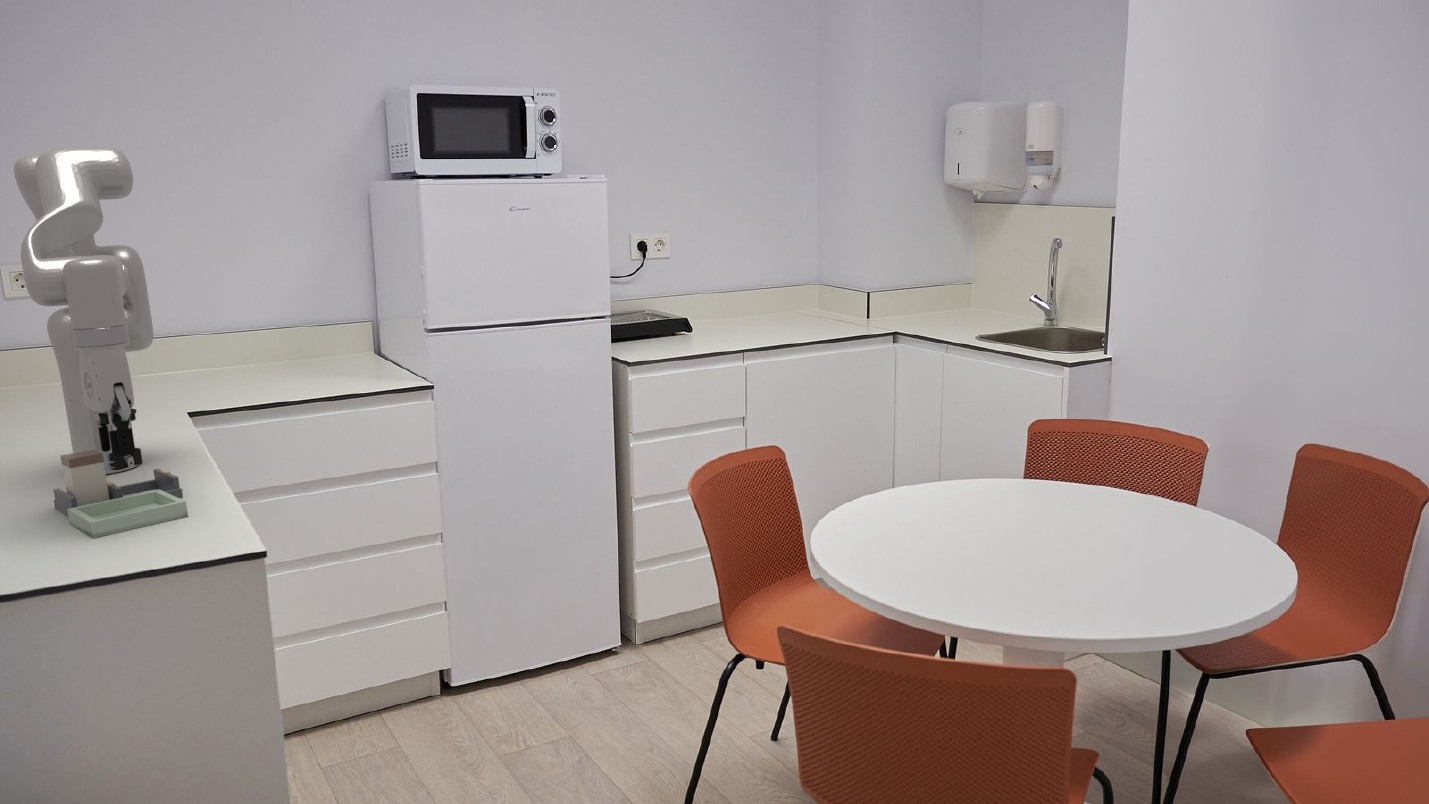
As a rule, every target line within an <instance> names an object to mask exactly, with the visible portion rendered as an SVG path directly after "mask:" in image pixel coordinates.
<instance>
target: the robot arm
mask: <svg viewBox="0 0 1429 804" xmlns="http://www.w3.org/2000/svg"><path fill="white" fill-rule="evenodd" d="M13 174H14V178H15V182H16V185H17V187H18V190H19V193H20V194H21V196H22V198H23V200H24V202H25V203H26V204H27V206H28V208H29V210H30V211H31V213H32V214H33V216H34V218H35V220H36V221H35V222H34V223H33V224H32V226H31V227H30V228H29V229H28V230H27V232H26V234H25V236H24V238H23V240H22V243H21V246H20V261H21V266H22V272H23V277H24V282H25V287H26V291H27V294H28V296H29V298H31V300H32V301H33V302H34V303H36V304H38V305H40V306H43V307H57V306H59V307H60V306H67V307H64V308H60V309H58V310H55V311H54V312H53V313H52V314H50V316H49V317H48V318H47V322H46V329H47V336H48V338H49V341H50V345H51V347H52V351H53V354H54V356H55V360H56V364H57V367H58V372H59V376H60V382H61V387H62V393H63V399H64V406H65V412H66V419H67V425H68V430H69V438H70V442H71V449H72V453H78V452H83V451H89V450H96V451H99V452H101V453H103V459H104V463H105V462H107V454H108V453H111V452H112V454H113V455H114V456H120V455H125V454H131V453H134V452H135V448H136V446H135V440H134V433H133V425H132V421H131V417H130V415H131V409H133V407H134V406H135V397H134V395H135V394H134V389H133V388H134V387H133V381H132V377H131V373H130V367H129V363H128V357H127V353H132V352H138V351H144V350H146V349H148V348H150V346H151V345H152V343H153V341H154V325H153V318H152V312H151V306H150V299H149V298H150V297H149V295H148V294H149V292H148V287H147V281H146V274H145V269H144V264H143V261H142V258H141V256H140V255H139V252H137V250H136V249H134V248H133V247H131V246H127V245H122V244H121V245H120V244H119V245H114V244H113V245H103V246H101V245H97V244H96V241H95V235H94V234H96V233H97V232H98V231H99V230H100V229H101V228H102V225H103V222H104V213H103V209H102V206H101V202H100V201H102V200H105V201H106V200H119V199H120V200H121V199H123V198H126V197H128V196H129V195H130V194H131V193H132V191H133V186H134V175H133V170H132V166H131V164H130V162H129V160H128V158H127V156H126V155H125V153H124V152H123V151H121V150H119V149H118V148H115V147H63V148H54V149H50V150H46V151H45V152H42V153H33V154H29V155H24V156H21V157H20V158H18V159H17V160H16V161H15V163H14V165H13ZM112 407H118V408H119V410H113V411H112V410H111V408H112ZM106 410H107V414H108V418H109V423H110V427H111V431H109V432H108V427H107V424H102V423H101V417H99V416H98V413H106ZM115 414H119V415H116V417H115V418H114V415H115ZM109 436H110V439H109ZM110 442H111V446H110ZM110 449H112V451H110ZM138 466H139V465H135V466H132V467H128V468H125V469H121V470H109V469H108V470H105V474H106V475H110V474H116V473H120V472H124V471H127V470H131V469H133V468H136V467H138ZM107 467H108V464H104V468H107Z"/></svg>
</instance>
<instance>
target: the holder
mask: <svg viewBox="0 0 1429 804" xmlns="http://www.w3.org/2000/svg"><path fill="white" fill-rule="evenodd" d="M153 476H154V477H153V479H149V480H144V481H139V482H134V483H130V484H124V485H120V486H118V485H115V482H112V481H110V480H108V481H107V487H108V493H109V499H110V500H112V499H117V498H122V497H124V496H127V495H133V494H135V493H137V494H138V493H140V492H141V493H142V492H147V491H149V490H150V491H152V490H155V489H156V490H159V489H160V490H162V491H164V492H166V493H168V494H171V495H173V496H175V497H177V498H180V499H182V498H184V494H183V489H182V488H181V487H180V482H179V481H180V480H179V476H178V475H174V474H172V473H171V471H168V470H167V469H164V470H163V469H160V468H154V469H153ZM52 490H53V495H54V499H53V504H54V509H55V510H56V511H59V512H60V513H62V514H63V515H66V516H67V517H69V516H68V510H67V509H70V508H74V507H78V506H77V500H76V498H75V497H74V496H72V495H70V494H68V493H67V491H64V490H63V489H61V488H54V489H52Z"/></svg>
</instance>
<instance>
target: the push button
mask: <svg viewBox="0 0 1429 804" xmlns="http://www.w3.org/2000/svg"><path fill="white" fill-rule="evenodd" d="M111 410H112V411H113V410H119V408H118V407H112V408H111ZM137 412H138V411H137V409H136V408H131V415H130V417H131V422H133V421H136V420H137V418H136V413H137ZM116 415H119V414H115V415H114V418H115V417H116ZM98 416H99V417H101V423H102V424H107V427H108V432H109V431H111V427H110V423H109V418H108V414H107V410H106V413H98ZM109 439H110V436H109ZM110 446H111V442H110ZM110 451H112V449H110ZM102 464H108V467H107V468H105V469H102V470H108V469H109V470H121V469H125V468H128V467H132V466H135V465H138V466H140V465H142V464H143V457H142V449H141V448H140V447H135V452H134V453H131V454H125V455H120V456H114V455H113V454H112V452H111V453H108V454H107V462H105V463H102Z"/></svg>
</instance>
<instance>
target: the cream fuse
mask: <svg viewBox="0 0 1429 804" xmlns="http://www.w3.org/2000/svg"><path fill="white" fill-rule="evenodd" d="M60 460H61V461H60V462H61V466H62V471H63V477H64V483H65V489H66V493H68V494H70V495H72V496H74V497H75V498H76V500H77V506H78V507H79V506H84V505H88V504H93V503H98V502H103V501H107V500H110V499H109V493H108V487H107V482H108V481H107V474H105V470H102V469H105V468H104V464H102V463H104V459H103V453H101V452H99V451H96V450H89V451H83V452H78V453H73V452H72V453H66V454H61V455H60Z"/></svg>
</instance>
